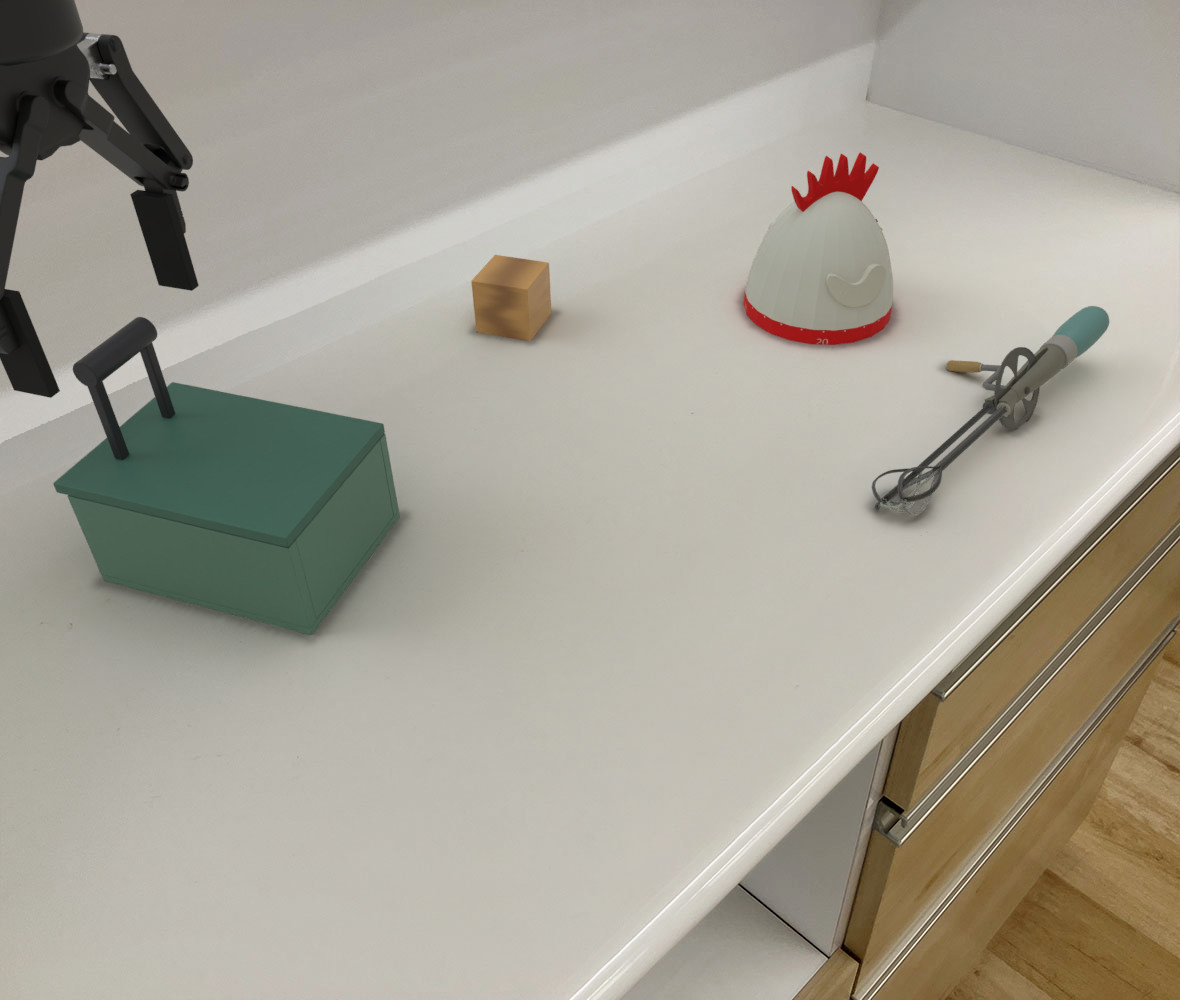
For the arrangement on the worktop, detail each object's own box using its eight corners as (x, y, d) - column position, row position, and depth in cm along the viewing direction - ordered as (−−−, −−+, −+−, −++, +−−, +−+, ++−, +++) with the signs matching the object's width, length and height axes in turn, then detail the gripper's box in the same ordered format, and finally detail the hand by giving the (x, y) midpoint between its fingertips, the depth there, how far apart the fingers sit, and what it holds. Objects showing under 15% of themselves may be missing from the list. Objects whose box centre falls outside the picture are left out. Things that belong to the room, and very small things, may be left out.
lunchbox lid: (56, 492, 68) (8, 384, 63) (175, 390, 77) (142, 288, 72) (288, 548, 64) (258, 436, 58) (385, 432, 73) (367, 326, 67)
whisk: (807, 525, 83) (786, 453, 80) (1014, 346, 98) (1004, 280, 96) (923, 550, 75) (905, 471, 72) (1130, 350, 90) (1121, 279, 87)
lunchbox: (104, 582, 73) (66, 495, 68) (210, 476, 82) (184, 393, 77) (312, 637, 69) (288, 548, 64) (400, 518, 78) (385, 433, 73)
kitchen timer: (918, 330, 97) (951, 174, 88) (785, 358, 94) (804, 199, 84) (842, 265, 108) (864, 119, 98) (720, 288, 104) (730, 139, 95)
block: (476, 333, 98) (471, 280, 95) (499, 306, 102) (494, 254, 99) (530, 342, 97) (527, 289, 93) (551, 314, 101) (549, 262, 97)
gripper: (-173, 43, 43) (18, 457, 56) (193, -79, 61) (271, 256, 75) (-304, 31, 45) (-90, 433, 58) (88, -84, 63) (183, 243, 77)
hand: (113, 334), depth 66 cm, fingers open, 13 cm apart
